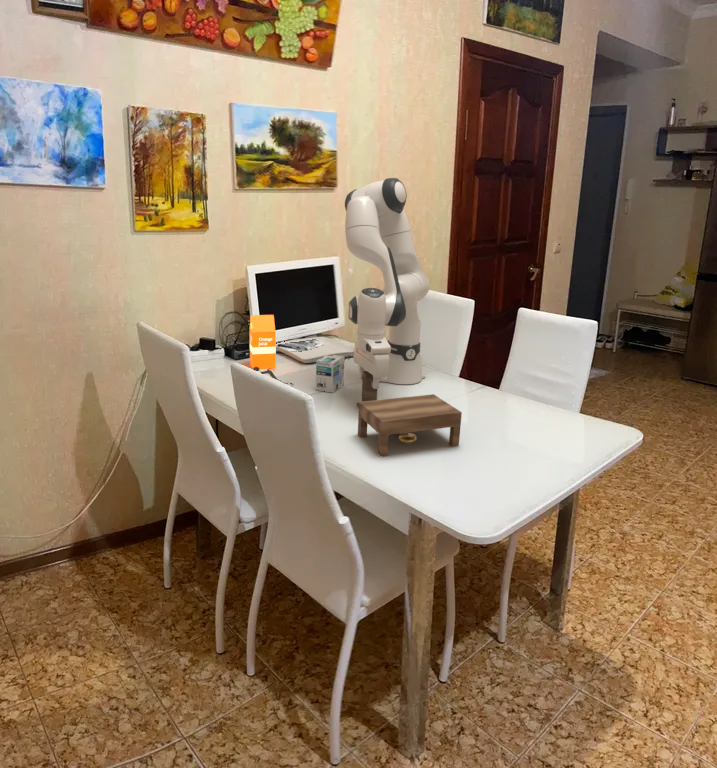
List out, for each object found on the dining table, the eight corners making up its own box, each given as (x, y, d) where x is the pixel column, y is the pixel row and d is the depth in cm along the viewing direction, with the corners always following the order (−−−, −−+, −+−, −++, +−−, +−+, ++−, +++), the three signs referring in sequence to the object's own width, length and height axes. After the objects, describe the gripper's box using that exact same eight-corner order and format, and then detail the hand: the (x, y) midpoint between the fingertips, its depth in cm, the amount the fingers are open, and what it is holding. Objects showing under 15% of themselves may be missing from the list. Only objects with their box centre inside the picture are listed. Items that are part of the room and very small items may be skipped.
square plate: (269, 351, 268) (269, 342, 267) (324, 343, 284) (324, 335, 283) (303, 367, 248) (303, 357, 246) (360, 358, 263) (360, 349, 262)
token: (395, 438, 182) (395, 434, 182) (411, 436, 184) (411, 432, 184) (403, 445, 178) (403, 440, 177) (419, 443, 180) (419, 438, 179)
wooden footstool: (357, 434, 183) (359, 401, 180) (431, 425, 192) (433, 394, 189) (380, 456, 169) (382, 421, 166) (458, 445, 178) (461, 412, 175)
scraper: (355, 405, 207) (356, 370, 203) (375, 403, 209) (376, 368, 206) (386, 433, 185) (388, 394, 182) (408, 430, 188) (410, 392, 184)
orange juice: (249, 364, 248) (249, 313, 242) (272, 362, 251) (272, 312, 245) (252, 369, 241) (252, 317, 235) (276, 368, 244) (275, 317, 237)
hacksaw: (252, 369, 242) (252, 366, 241) (279, 368, 245) (279, 364, 245) (265, 389, 220) (265, 385, 220) (294, 387, 224) (294, 383, 223)
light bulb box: (333, 393, 218) (333, 363, 215) (315, 390, 220) (315, 360, 217) (344, 384, 227) (345, 355, 224) (327, 382, 230) (327, 353, 226)
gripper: (349, 334, 207) (348, 375, 211) (374, 350, 189) (372, 394, 193) (367, 333, 209) (365, 373, 213) (393, 348, 191) (391, 392, 195)
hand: (369, 383), depth 203 cm, fingers open, 8 cm apart
